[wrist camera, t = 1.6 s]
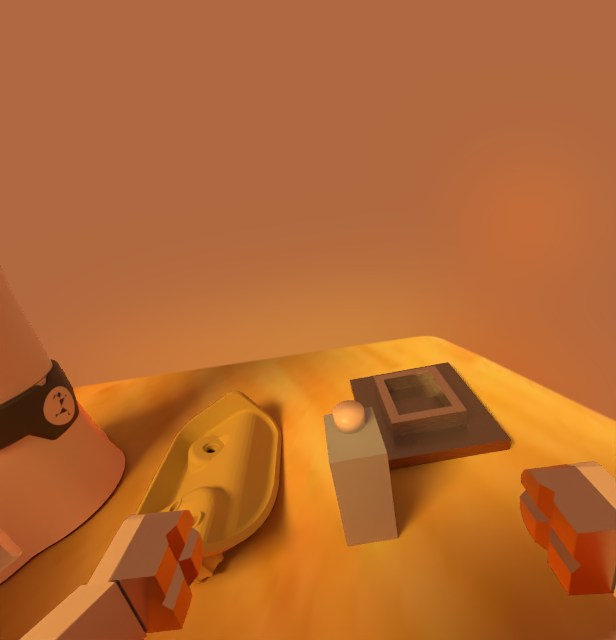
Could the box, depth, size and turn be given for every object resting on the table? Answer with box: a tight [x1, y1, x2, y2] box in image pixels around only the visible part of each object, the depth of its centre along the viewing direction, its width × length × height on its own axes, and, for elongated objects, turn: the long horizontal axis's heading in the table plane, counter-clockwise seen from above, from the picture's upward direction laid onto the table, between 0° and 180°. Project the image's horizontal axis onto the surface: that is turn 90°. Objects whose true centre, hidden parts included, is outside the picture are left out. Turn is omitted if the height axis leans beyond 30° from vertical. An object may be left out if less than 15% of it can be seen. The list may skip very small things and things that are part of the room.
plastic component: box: [135, 391, 282, 584], centre depth 32 cm, size 20×7×10 cm
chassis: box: [350, 362, 510, 469], centre depth 38 cm, size 13×14×3 cm
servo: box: [324, 401, 398, 546], centre depth 27 cm, size 4×5×10 cm
